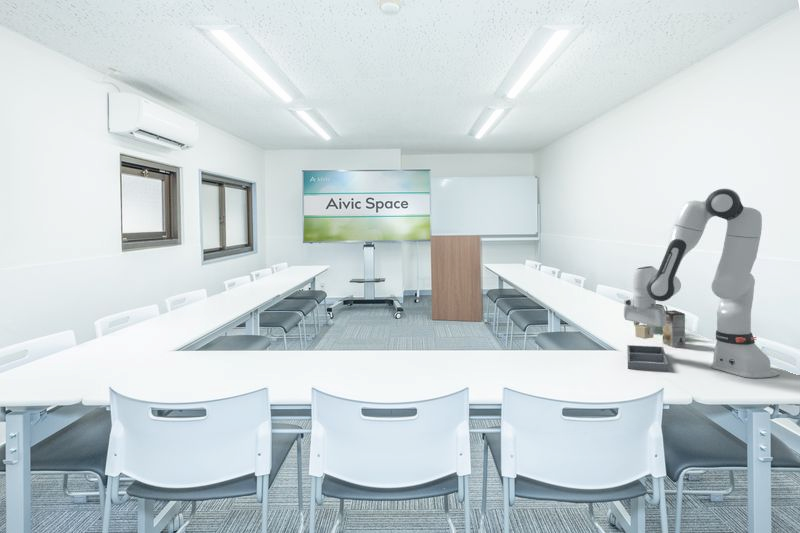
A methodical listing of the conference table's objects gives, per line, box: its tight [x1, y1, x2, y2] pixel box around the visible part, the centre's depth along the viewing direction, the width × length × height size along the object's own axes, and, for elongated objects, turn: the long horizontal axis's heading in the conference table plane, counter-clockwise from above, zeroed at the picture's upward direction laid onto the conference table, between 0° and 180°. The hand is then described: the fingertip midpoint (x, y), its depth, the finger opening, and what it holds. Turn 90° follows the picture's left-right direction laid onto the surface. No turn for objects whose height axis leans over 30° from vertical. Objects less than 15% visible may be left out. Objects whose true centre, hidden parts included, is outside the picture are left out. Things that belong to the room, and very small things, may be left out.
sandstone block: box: [635, 324, 654, 340], centre depth 208 cm, size 5×5×5 cm
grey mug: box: [649, 303, 668, 335], centre depth 253 cm, size 9×14×15 cm, turn 115°
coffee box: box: [662, 310, 686, 348], centre depth 225 cm, size 9×6×16 cm
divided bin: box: [626, 344, 669, 372], centre depth 203 cm, size 28×15×3 cm, turn 154°
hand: (644, 333), depth 209 cm, fingers closed on sandstone block, 5 cm apart
